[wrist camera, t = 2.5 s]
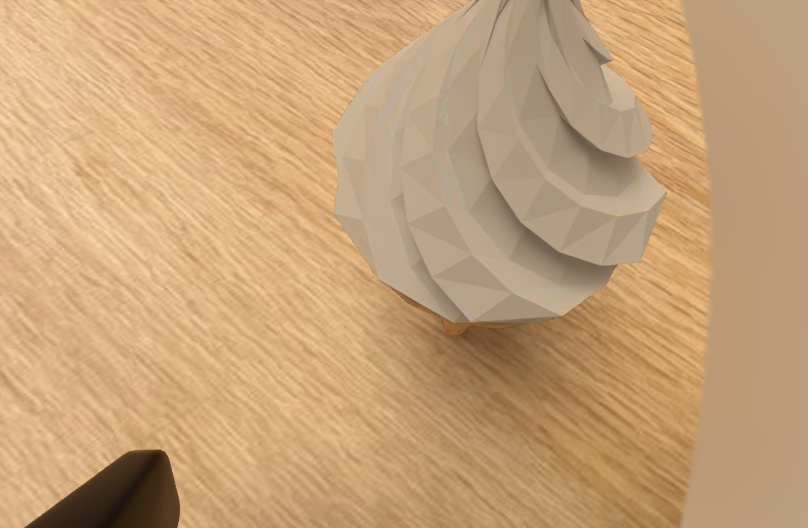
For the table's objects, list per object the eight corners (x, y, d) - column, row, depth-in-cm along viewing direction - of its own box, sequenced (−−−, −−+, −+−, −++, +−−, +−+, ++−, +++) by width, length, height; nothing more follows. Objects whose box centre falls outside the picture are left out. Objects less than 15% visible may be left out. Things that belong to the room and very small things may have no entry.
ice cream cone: (431, 222, 21) (461, -314, 7) (572, 308, 20) (934, -143, 6) (337, 351, 20) (141, -23, 6) (484, 453, 18) (701, 295, 4)
